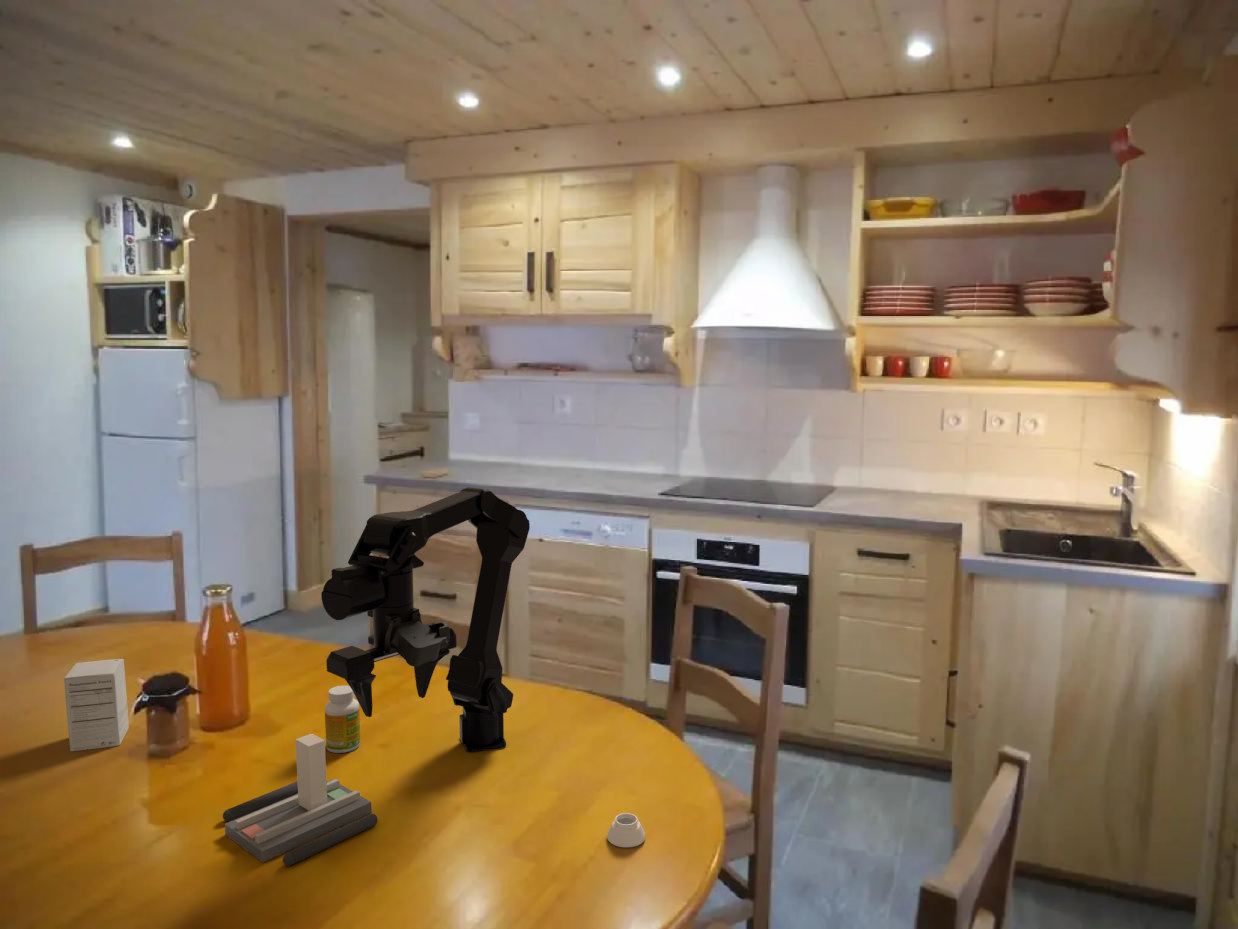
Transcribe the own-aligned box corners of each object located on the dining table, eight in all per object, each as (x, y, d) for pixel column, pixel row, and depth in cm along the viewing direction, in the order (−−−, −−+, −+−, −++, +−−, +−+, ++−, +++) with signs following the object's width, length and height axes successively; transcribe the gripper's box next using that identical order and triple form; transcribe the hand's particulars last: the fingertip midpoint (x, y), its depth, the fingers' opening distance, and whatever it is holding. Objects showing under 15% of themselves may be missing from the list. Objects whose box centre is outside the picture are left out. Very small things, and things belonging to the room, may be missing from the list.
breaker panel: (332, 789, 127) (331, 773, 127) (371, 812, 121) (371, 795, 121) (225, 834, 115) (224, 816, 115) (262, 862, 109) (261, 844, 109)
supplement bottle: (350, 755, 138) (348, 697, 137) (319, 752, 139) (317, 694, 138) (366, 741, 143) (364, 685, 142) (337, 738, 145) (334, 682, 143)
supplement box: (81, 733, 146) (75, 662, 144) (130, 728, 148) (125, 657, 146) (68, 752, 139) (62, 677, 137) (120, 746, 141) (114, 672, 139)
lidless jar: (652, 838, 115) (623, 825, 118) (652, 817, 115) (623, 805, 118) (629, 855, 111) (599, 841, 114) (629, 833, 111) (599, 820, 114)
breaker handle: (314, 797, 121) (311, 733, 120) (327, 805, 119) (324, 740, 118) (298, 804, 120) (295, 739, 118) (311, 812, 117) (308, 746, 116)
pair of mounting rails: (311, 784, 129) (310, 773, 129) (380, 825, 118) (380, 814, 118) (220, 821, 119) (220, 810, 118) (287, 870, 107) (286, 858, 107)
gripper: (369, 629, 111) (372, 744, 113) (480, 599, 125) (481, 701, 127) (322, 612, 118) (326, 721, 120) (432, 585, 132) (434, 683, 134)
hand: (395, 706), depth 125 cm, fingers open, 9 cm apart
